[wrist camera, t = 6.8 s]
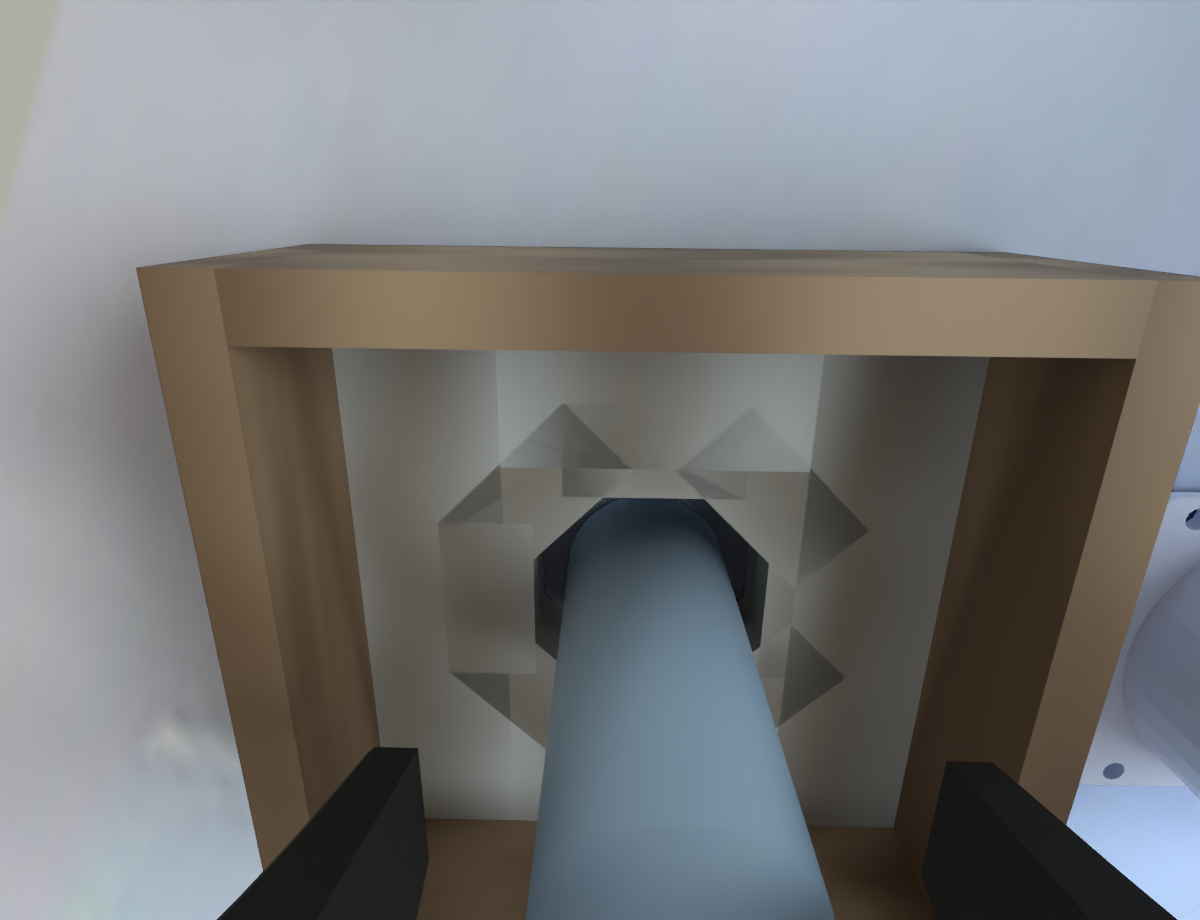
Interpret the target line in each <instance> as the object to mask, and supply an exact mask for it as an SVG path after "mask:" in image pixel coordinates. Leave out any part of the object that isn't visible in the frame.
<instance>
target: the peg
mask: <svg viewBox="0 0 1200 920" xmlns="http://www.w3.org/2000/svg"><path fill="white" fill-rule="evenodd" d="M525 920H835V917H834V912H833V909H832V906H831V903H830V900H829V896H828V893H827V890H826V887H825V884H824V880H823V877H822V874H821V871H820V868H819V864H818V861H817V858H816V855H815V851H814V848H813V845H812V842H811V839H810V835H809V832H808V829H807V826H806V823H805V819H804V816H803V813H802V810H801V807H800V803H799V800H798V797H797V794H796V790H795V787H794V784H793V781H792V778H791V774H790V771H789V768H788V765H787V762H786V758H785V755H784V752H783V749H782V746H781V742H780V739H779V736H778V733H777V729H776V726H775V723H774V720H773V717H772V713H771V710H770V707H769V704H768V701H767V697H766V694H765V691H764V688H763V685H762V681H761V678H760V675H759V672H758V668H757V665H756V662H755V659H754V656H753V652H752V649H751V646H750V643H749V640H748V636H747V633H746V630H745V627H744V624H743V620H742V617H741V614H740V611H739V607H738V604H737V601H736V598H735V595H734V591H733V588H732V585H731V582H730V579H729V575H728V572H727V569H726V566H725V563H724V559H723V556H722V553H721V550H720V547H719V544H718V540H717V538H716V536H715V534H714V532H713V530H712V528H711V527H710V526H709V524H708V523H707V522H706V520H705V519H704V518H703V517H702V516H701V515H700V514H698V513H697V512H696V511H695V510H693V509H692V508H690V507H689V506H687V505H685V504H683V503H681V502H679V501H677V500H674V499H667V498H622V499H618V500H615V501H613V502H611V503H609V504H607V505H605V506H603V507H602V508H600V509H598V510H597V511H596V512H595V513H593V514H592V515H591V516H590V517H589V518H588V519H587V520H586V521H585V522H584V523H583V525H582V526H581V528H580V529H579V530H578V532H577V534H576V536H575V538H574V540H573V543H572V546H571V550H570V555H569V563H568V571H567V580H566V588H565V596H564V604H563V613H562V621H561V629H560V638H559V646H558V654H557V662H556V671H555V679H554V687H553V696H552V704H551V712H550V720H549V729H548V737H547V745H546V753H545V762H544V770H543V778H542V787H541V795H540V803H539V811H538V820H537V828H536V836H535V845H534V853H533V861H532V869H531V878H530V886H529V894H528V903H527V911H526V919H525Z"/></svg>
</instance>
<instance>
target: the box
mask: <svg viewBox="0 0 1200 920" xmlns="http://www.w3.org/2000/svg"><path fill="white" fill-rule="evenodd" d="M136 270H137V274H138V279H139V284H140V289H141V293H142V298H143V303H144V308H145V312H146V317H147V322H148V327H149V331H150V336H151V341H152V346H153V350H154V355H155V360H156V365H157V369H158V374H159V379H160V384H161V388H162V393H163V398H164V403H165V407H166V412H167V417H168V422H169V426H170V431H171V436H172V441H173V445H174V450H175V455H176V460H177V464H178V469H179V474H180V479H181V483H182V488H183V493H184V498H185V502H186V507H187V512H188V517H189V521H190V526H191V531H192V536H193V540H194V545H195V550H196V554H197V559H198V564H199V569H200V573H201V578H202V583H203V588H204V592H205V597H206V602H207V607H208V611H209V616H210V621H211V626H212V630H213V635H214V640H215V645H216V649H217V654H218V659H219V664H220V668H221V673H222V678H223V683H224V687H225V692H226V697H227V702H228V706H229V711H230V716H231V721H232V725H233V730H234V735H235V740H236V744H237V749H238V754H239V759H240V763H241V768H242V773H243V778H244V782H245V787H246V792H247V797H248V801H249V806H250V811H251V816H252V820H253V825H254V830H255V835H256V839H257V844H258V849H259V854H260V858H261V863H262V868H263V871H264V870H265V869H266V868H267V867H268V866H269V865H270V863H271V862H272V861H273V860H274V859H275V858H276V857H277V856H278V855H279V854H280V853H281V851H282V850H283V849H284V848H285V847H286V846H287V845H288V844H289V843H290V842H291V840H292V839H293V838H294V837H295V836H296V835H297V834H298V833H299V832H300V831H301V829H302V828H303V827H304V826H305V825H306V824H307V823H308V821H309V820H310V819H311V818H312V817H313V816H314V815H315V813H316V812H317V811H318V810H319V809H320V808H321V807H322V805H323V804H324V803H325V802H326V801H327V800H328V798H329V797H330V796H331V795H332V794H333V793H334V791H335V790H336V789H337V788H338V787H339V786H340V784H341V783H342V782H343V781H344V780H345V779H346V777H347V776H348V775H349V774H350V773H351V771H352V770H353V769H354V768H355V767H356V766H357V764H358V763H359V762H360V761H361V760H362V759H363V757H364V756H365V755H366V754H367V753H368V752H369V751H370V750H371V749H372V748H374V747H398V748H418V752H419V762H420V773H421V783H422V793H423V803H424V813H425V823H426V833H427V844H428V854H429V862H428V867H427V872H426V876H425V881H424V886H423V891H422V896H421V901H420V905H419V910H418V914H417V919H416V920H525V919H526V911H527V903H528V894H529V886H530V878H531V869H532V861H533V853H534V845H535V836H536V828H537V820H538V811H539V803H540V795H541V787H542V778H543V770H544V762H545V753H546V745H547V737H548V729H549V720H550V712H551V704H552V696H553V687H554V679H555V671H556V662H557V654H558V646H559V638H560V629H561V621H562V613H563V610H562V609H561V608H560V607H559V606H557V605H556V604H555V603H554V602H553V601H552V600H551V599H549V598H548V597H547V596H546V595H545V594H544V580H543V551H544V550H545V549H546V548H547V547H548V546H549V545H550V544H552V543H553V542H554V541H555V540H556V539H557V538H558V537H559V536H561V535H562V534H563V533H564V532H565V531H566V530H567V529H568V528H570V527H571V526H572V525H573V524H574V523H575V522H576V521H577V520H578V519H580V518H581V517H582V516H583V515H584V514H585V513H586V512H587V511H589V510H590V509H591V508H592V507H593V506H594V505H595V504H596V503H597V502H599V501H600V500H601V499H602V498H667V499H705V500H706V501H707V502H708V503H709V504H710V505H711V506H712V507H713V508H714V509H715V510H716V511H717V512H718V513H719V514H720V515H721V516H722V517H723V518H724V519H725V520H726V521H727V522H728V523H729V524H730V525H731V526H732V527H733V528H734V529H735V530H736V531H737V532H738V533H739V534H740V535H741V536H742V537H743V538H744V539H745V540H746V541H747V542H748V543H749V545H748V555H747V566H746V577H745V587H744V597H743V598H742V599H740V600H739V601H738V602H737V604H738V607H739V611H740V614H741V617H742V620H743V624H744V627H745V630H746V633H747V636H748V640H749V643H750V646H751V649H752V652H753V656H754V659H755V662H756V665H757V668H758V672H759V675H760V678H761V681H762V685H763V688H764V691H765V694H766V697H767V701H768V704H769V707H770V710H771V713H772V717H773V720H774V723H775V726H776V729H777V733H778V736H779V739H780V742H781V746H782V749H783V752H784V755H785V758H786V762H787V765H788V768H789V771H790V774H791V778H792V781H793V784H794V787H795V790H796V794H797V797H798V800H799V803H800V807H801V810H802V813H803V816H804V819H805V823H806V826H807V829H808V832H809V835H810V839H811V842H812V845H813V848H814V851H815V855H816V858H817V861H818V864H819V868H820V871H821V874H822V877H823V880H824V884H825V887H826V890H827V893H828V896H829V900H830V903H831V906H832V909H833V912H834V917H835V920H936V918H935V915H934V912H933V909H932V906H931V903H930V900H929V896H928V893H927V890H926V887H925V884H924V881H923V878H922V874H921V871H922V866H923V862H924V858H925V853H926V849H927V844H928V840H929V836H930V831H931V827H932V823H933V818H934V814H935V810H936V805H937V801H938V796H939V792H940V788H941V783H942V779H943V775H944V770H945V766H946V761H960V762H992V763H994V764H995V765H996V766H997V767H998V768H1000V769H1001V770H1002V771H1003V772H1005V773H1006V774H1007V775H1008V776H1009V777H1011V778H1012V779H1013V780H1014V781H1015V782H1017V783H1018V784H1019V785H1020V786H1021V787H1022V788H1024V789H1025V790H1026V791H1027V792H1028V793H1029V794H1031V795H1032V796H1033V797H1034V798H1035V799H1036V800H1037V801H1039V802H1040V803H1041V804H1042V805H1043V806H1044V807H1046V808H1047V809H1048V810H1049V811H1050V812H1051V813H1052V814H1054V815H1055V816H1056V817H1057V818H1058V819H1059V820H1061V821H1062V822H1063V823H1064V824H1065V825H1066V823H1067V820H1068V817H1069V814H1070V811H1071V808H1072V804H1073V801H1074V798H1075V795H1076V792H1077V789H1078V785H1079V782H1080V779H1081V776H1082V773H1083V770H1084V767H1085V763H1086V760H1087V757H1088V754H1089V751H1090V748H1091V744H1092V741H1093V738H1094V735H1095V732H1096V729H1097V726H1098V722H1099V719H1100V716H1101V713H1102V710H1103V707H1104V703H1105V700H1106V697H1107V694H1108V691H1109V688H1110V684H1111V681H1112V678H1113V675H1114V672H1115V669H1116V666H1117V662H1118V659H1119V656H1120V653H1121V650H1122V647H1123V643H1124V640H1125V637H1126V634H1127V631H1128V628H1129V624H1130V621H1131V618H1132V615H1133V612H1134V609H1135V606H1136V602H1137V599H1138V596H1139V593H1140V590H1141V587H1142V583H1143V580H1144V577H1145V574H1146V571H1147V568H1148V564H1149V561H1150V558H1151V555H1152V552H1153V549H1154V546H1155V542H1156V539H1157V536H1158V533H1159V530H1160V527H1161V523H1162V520H1163V517H1164V514H1165V511H1166V508H1167V504H1168V501H1169V498H1170V495H1171V492H1172V489H1173V486H1174V482H1175V479H1176V476H1177V473H1178V470H1179V467H1180V463H1181V460H1182V457H1183V454H1184V451H1185V448H1186V444H1187V441H1188V438H1189V435H1190V432H1191V429H1192V426H1193V422H1194V419H1195V416H1196V413H1197V410H1198V407H1199V403H1200V277H1198V276H1190V275H1182V274H1174V273H1166V272H1158V271H1150V270H1142V269H1134V268H1126V267H1118V266H1110V265H1102V264H1094V263H1086V262H1078V261H1070V260H1062V259H1054V258H1046V257H1038V256H1030V255H1022V254H1014V253H1002V252H919V251H837V250H754V249H672V248H589V247H507V246H424V245H342V244H307V245H299V246H292V247H285V248H277V249H270V250H263V251H255V252H248V253H241V254H233V255H226V256H219V257H211V258H204V259H197V260H189V261H182V262H175V263H167V264H160V265H153V266H145V267H138V268H136Z"/></svg>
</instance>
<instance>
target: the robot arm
mask: <svg viewBox="0 0 1200 920" xmlns="http://www.w3.org/2000/svg"><path fill="white" fill-rule="evenodd" d="M1195 509H1196V513H1195V515H1194V517H1193V518H1191V519H1190V520H1188V521H1187V522H1186V518H1187V517H1188V515H1189V513H1191V512H1192V511H1194V510H1195ZM1079 783H1081V784H1087V785H1132V786H1184V787H1188V788H1189V789H1190V790H1191V791H1192V792H1193V793H1194V794H1195V795H1196V796H1197V797H1198V798H1199V799H1200V492H1171V495H1170V498H1169V501H1168V504H1167V508H1166V511H1165V514H1164V517H1163V520H1162V523H1161V527H1160V530H1159V533H1158V536H1157V539H1156V542H1155V546H1154V549H1153V552H1152V555H1151V558H1150V561H1149V564H1148V568H1147V571H1146V574H1145V577H1144V580H1143V583H1142V587H1141V590H1140V593H1139V596H1138V599H1137V602H1136V606H1135V609H1134V612H1133V615H1132V618H1131V621H1130V624H1129V628H1128V631H1127V634H1126V637H1125V640H1124V643H1123V647H1122V650H1121V653H1120V656H1119V659H1118V662H1117V666H1116V669H1115V672H1114V675H1113V678H1112V681H1111V684H1110V688H1109V691H1108V694H1107V697H1106V700H1105V703H1104V707H1103V710H1102V713H1101V716H1100V719H1099V722H1098V726H1097V729H1096V732H1095V735H1094V738H1093V741H1092V744H1091V748H1090V751H1089V754H1088V757H1087V760H1086V763H1085V767H1084V770H1083V773H1082V776H1081V779H1080V782H1079ZM428 862H429V854H428V844H427V833H426V823H425V813H424V803H423V793H422V783H421V773H420V762H419V752H418V748H398V747H374V748H372V749H371V750H370V751H369V752H368V753H367V754H366V755H365V756H364V757H363V759H362V760H361V761H360V762H359V763H358V764H357V766H356V767H355V768H354V769H353V770H352V771H351V773H350V774H349V775H348V776H347V777H346V779H345V780H344V781H343V782H342V783H341V784H340V786H339V787H338V788H337V789H336V790H335V791H334V793H333V794H332V795H331V796H330V797H329V798H328V800H327V801H326V802H325V803H324V804H323V805H322V807H321V808H320V809H319V810H318V811H317V812H316V813H315V815H314V816H313V817H312V818H311V819H310V820H309V821H308V823H307V824H306V825H305V826H304V827H303V828H302V829H301V831H300V832H299V833H298V834H297V835H296V836H295V837H294V838H293V839H292V840H291V842H290V843H289V844H288V845H287V846H286V847H285V848H284V849H283V850H282V851H281V853H280V854H279V855H278V856H277V857H276V858H275V859H274V860H273V861H272V862H271V863H270V865H269V866H268V867H267V868H266V869H265V870H264V871H263V872H262V873H261V874H260V875H259V877H258V878H257V879H256V880H255V881H254V882H253V883H252V884H251V885H250V886H249V887H248V888H247V889H246V890H245V891H244V893H243V894H242V895H241V896H240V897H239V898H238V899H237V900H236V901H235V902H234V903H233V904H232V905H231V906H230V907H229V908H228V909H227V910H226V911H225V912H224V913H223V914H222V915H221V916H220V917H219V918H218V919H217V920H416V919H417V914H418V910H419V905H420V901H421V896H422V891H423V886H424V881H425V876H426V872H427V867H428ZM921 874H922V878H923V881H924V884H925V887H926V890H927V893H928V896H929V900H930V903H931V906H932V909H933V912H934V915H935V918H936V920H1177V919H1176V918H1175V917H1173V916H1172V915H1171V914H1170V913H1169V912H1167V911H1166V910H1165V909H1164V908H1163V907H1161V906H1160V905H1159V904H1158V903H1157V902H1155V901H1154V900H1153V899H1152V898H1151V897H1149V896H1148V895H1147V894H1146V893H1145V892H1143V891H1142V890H1141V889H1140V888H1139V887H1137V886H1136V885H1135V884H1134V883H1133V882H1132V881H1130V880H1129V879H1128V878H1127V877H1126V876H1124V875H1123V874H1122V873H1121V872H1120V871H1119V870H1117V869H1116V868H1115V867H1114V866H1113V865H1112V864H1110V863H1109V862H1108V861H1107V860H1106V859H1104V858H1103V857H1102V856H1101V855H1100V854H1099V853H1097V852H1096V851H1095V850H1094V849H1093V848H1092V847H1091V846H1089V845H1088V844H1087V843H1086V842H1085V841H1084V840H1082V839H1081V838H1080V837H1079V836H1078V835H1077V834H1076V833H1074V832H1073V831H1072V830H1071V829H1070V828H1069V827H1067V826H1066V825H1065V824H1064V823H1063V822H1062V821H1061V820H1059V819H1058V818H1057V817H1056V816H1055V815H1054V814H1052V813H1051V812H1050V811H1049V810H1048V809H1047V808H1046V807H1044V806H1043V805H1042V804H1041V803H1040V802H1039V801H1037V800H1036V799H1035V798H1034V797H1033V796H1032V795H1031V794H1029V793H1028V792H1027V791H1026V790H1025V789H1024V788H1022V787H1021V786H1020V785H1019V784H1018V783H1017V782H1015V781H1014V780H1013V779H1012V778H1011V777H1009V776H1008V775H1007V774H1006V773H1005V772H1003V771H1002V770H1001V769H1000V768H998V767H997V766H996V765H995V764H994V763H992V762H960V761H946V766H945V770H944V775H943V779H942V783H941V788H940V792H939V796H938V801H937V805H936V810H935V814H934V818H933V823H932V827H931V831H930V836H929V840H928V844H927V849H926V853H925V858H924V862H923V866H922V871H921Z"/></svg>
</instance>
